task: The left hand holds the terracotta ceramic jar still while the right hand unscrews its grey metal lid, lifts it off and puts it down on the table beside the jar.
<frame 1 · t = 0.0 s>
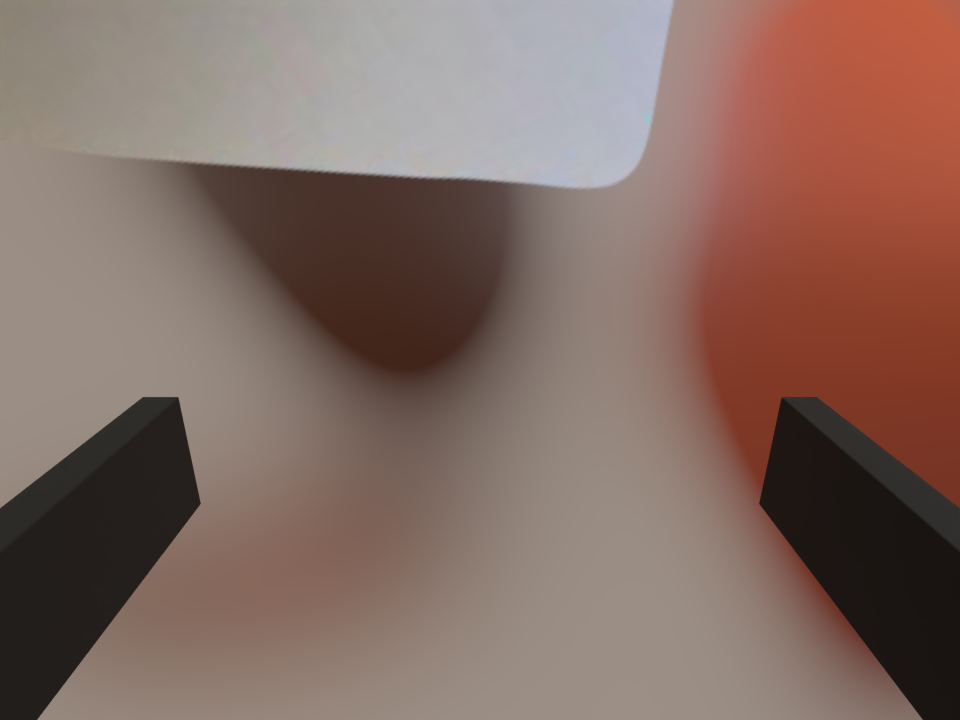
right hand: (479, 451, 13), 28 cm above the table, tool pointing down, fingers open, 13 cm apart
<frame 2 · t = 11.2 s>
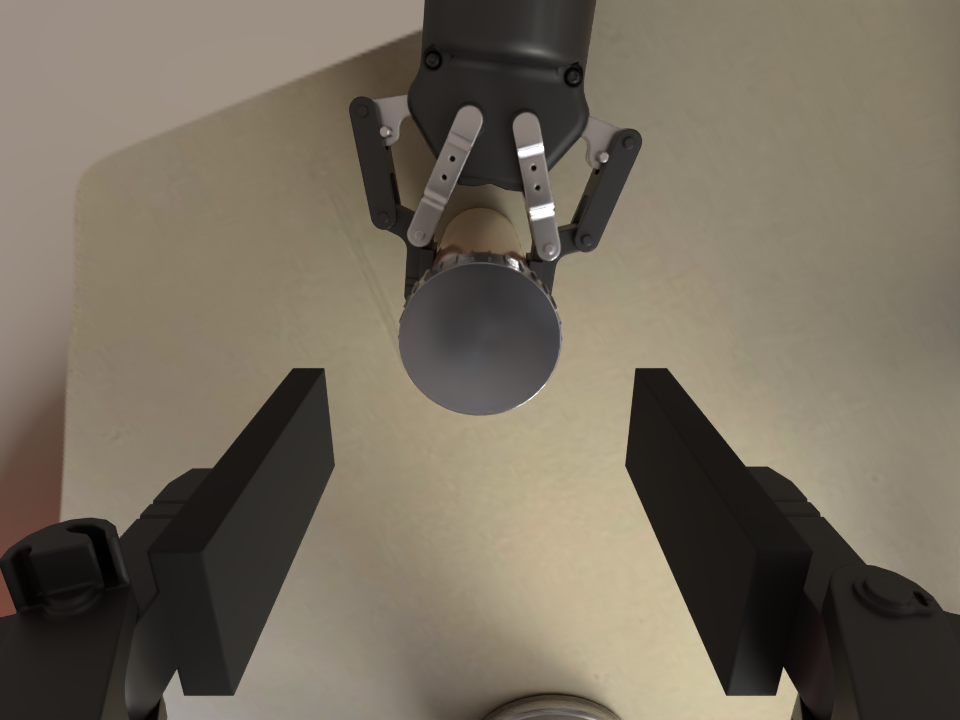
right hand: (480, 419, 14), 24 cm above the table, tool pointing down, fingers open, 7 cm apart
left hand: (475, 318, 31), fingers closed on jar, 5 cm apart
lid: (480, 339, 20), point 18 cm above the table, screwed on, not yet turned
jar: (480, 246, 36), on the table, touching left hand
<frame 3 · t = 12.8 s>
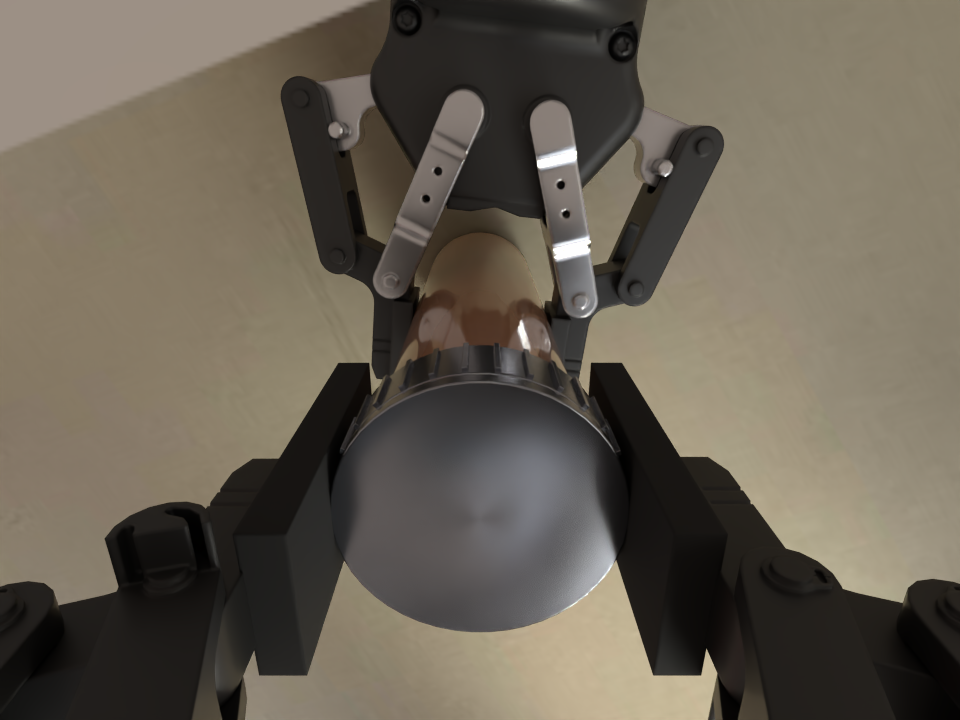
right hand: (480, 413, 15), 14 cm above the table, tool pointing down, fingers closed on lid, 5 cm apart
left hand: (473, 393, 22), fingers closed on jar, 5 cm apart
lid: (480, 507, 11), point 18 cm above the table, screwed on, not yet turned, touching right hand
jar: (479, 283, 27), on the table, touching left hand
when the right hand's fingers open (14 cm above the table, at t = 14.2 s): lid stays where it is, point 18 cm above the table.
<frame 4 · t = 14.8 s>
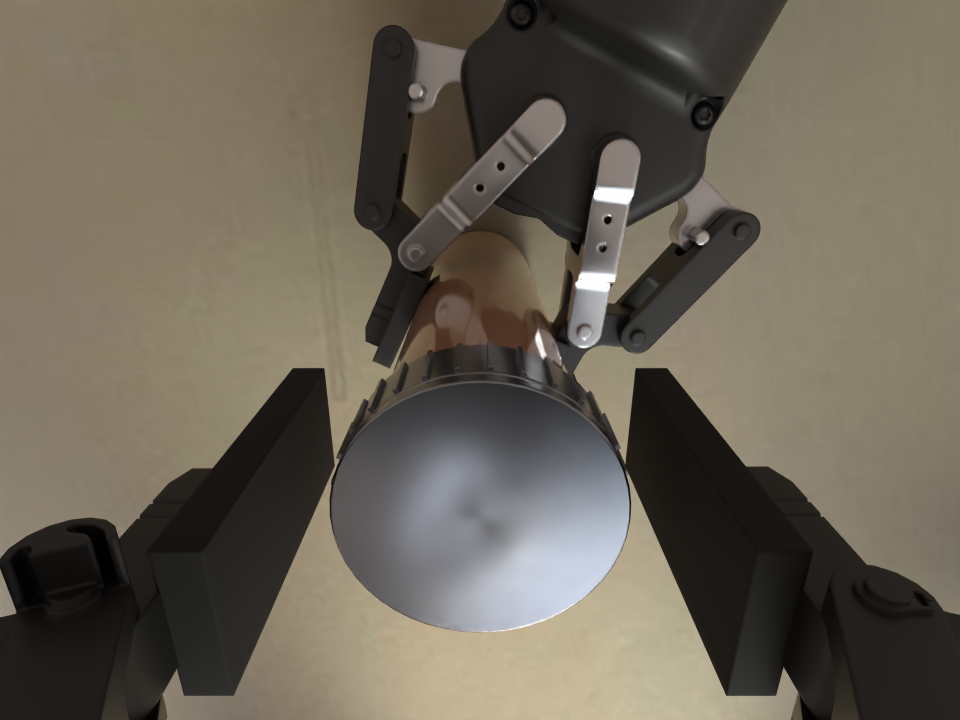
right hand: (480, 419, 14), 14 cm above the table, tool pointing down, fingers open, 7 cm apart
left hand: (451, 384, 22), fingers closed on jar, 5 cm apart
lid: (480, 507, 11), point 18 cm above the table, turned 82° so far, risen 0.2 cm, still on its thread
jar: (480, 281, 28), on the table, touching left hand
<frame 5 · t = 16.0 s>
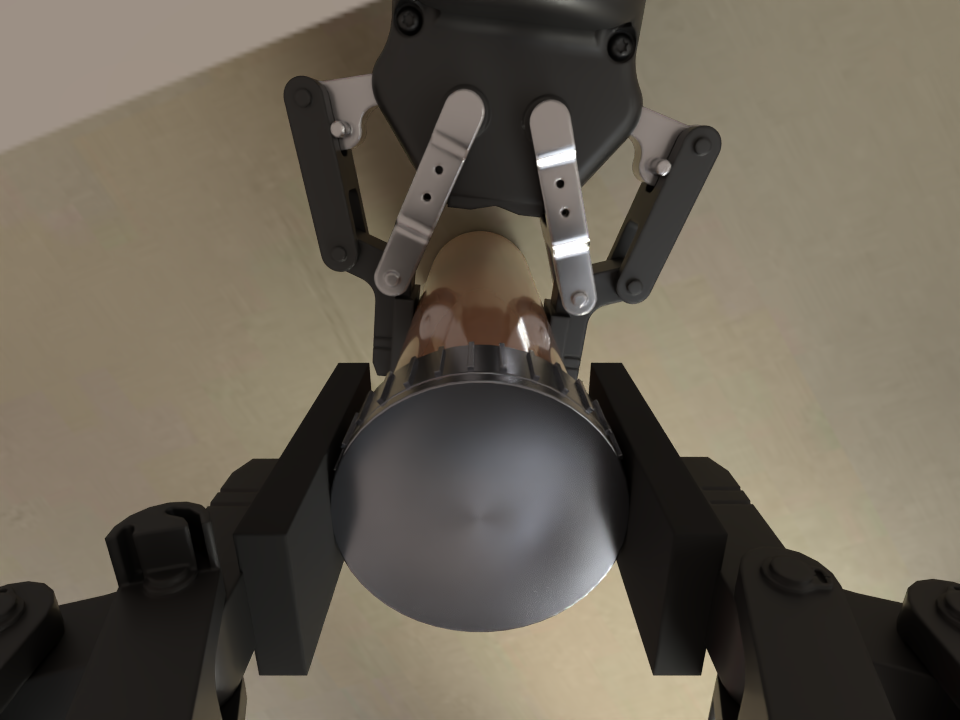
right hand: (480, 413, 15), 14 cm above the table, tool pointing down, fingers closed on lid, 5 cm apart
left hand: (473, 390, 22), fingers closed on jar, 5 cm apart
lid: (480, 507, 11), point 18 cm above the table, turned 82° so far, risen 0.2 cm, still on its thread, touching right hand
jar: (480, 281, 28), on the table, touching left hand
when the right hand's fingers open (0 cm above the table, at t = 23.8 s): lid drops 3 cm, point 1 cm above the table.
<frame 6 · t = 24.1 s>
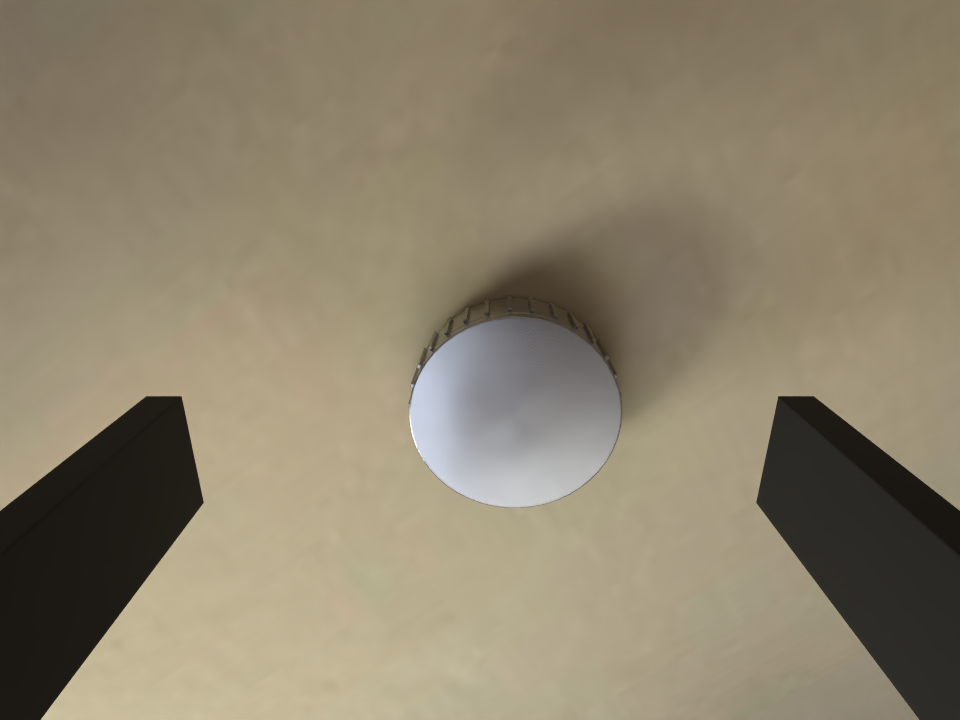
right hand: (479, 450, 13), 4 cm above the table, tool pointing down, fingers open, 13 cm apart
lid: (514, 412, 15), point 1 cm above the table, off its thread
when the left hand's fingers open (7 cm above the table, at t = 24.5 s): jar stays where it is, on the table.
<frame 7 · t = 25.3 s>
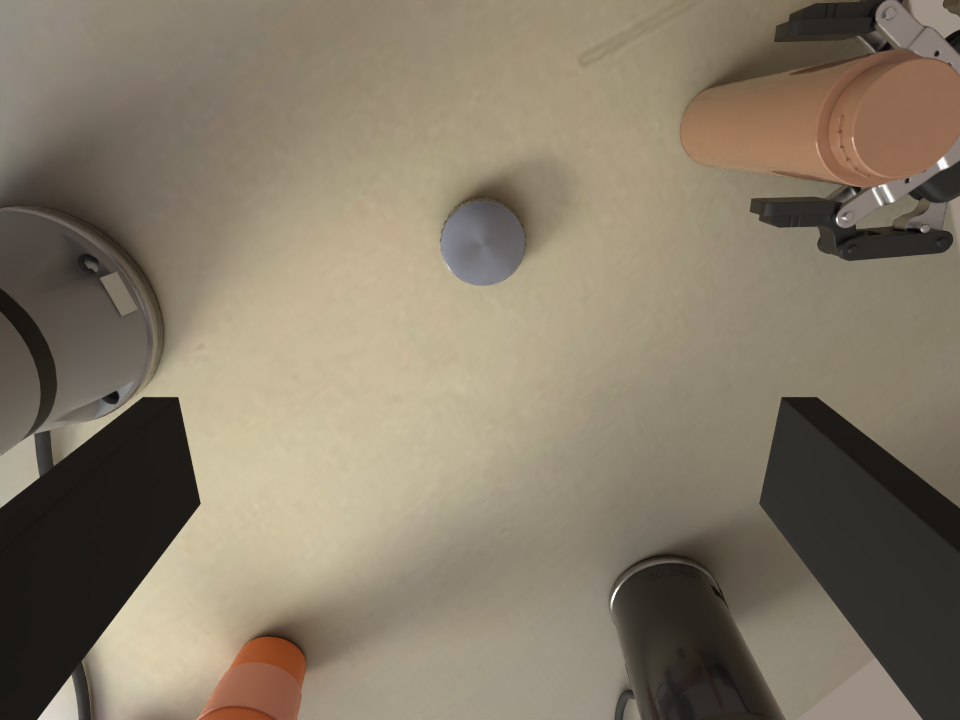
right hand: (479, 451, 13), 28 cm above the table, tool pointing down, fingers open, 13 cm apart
lid: (482, 243, 38), point 1 cm above the table, off its thread
jar: (717, 126, 37), on the table
cup with straw: (273, 658, 53), on the table
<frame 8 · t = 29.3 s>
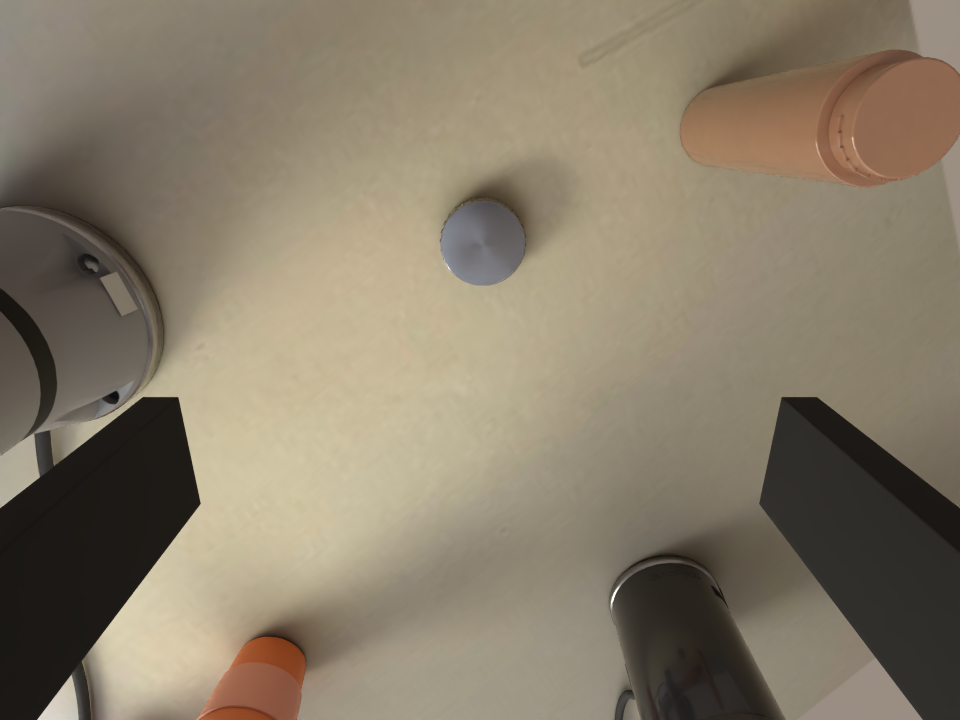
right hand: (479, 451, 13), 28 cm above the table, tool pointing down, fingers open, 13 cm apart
lid: (482, 243, 38), point 1 cm above the table, off its thread
jar: (717, 126, 37), on the table
cup with straw: (273, 658, 53), on the table
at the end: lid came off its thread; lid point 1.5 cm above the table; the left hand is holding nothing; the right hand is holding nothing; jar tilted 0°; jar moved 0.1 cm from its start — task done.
